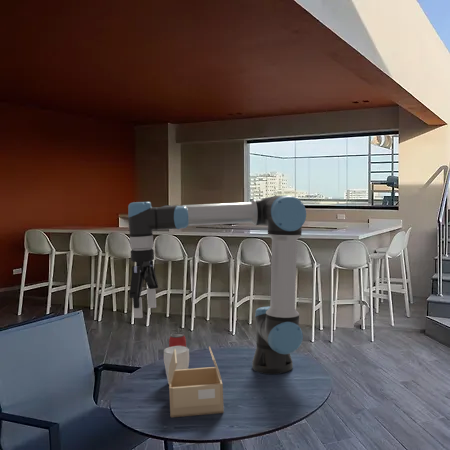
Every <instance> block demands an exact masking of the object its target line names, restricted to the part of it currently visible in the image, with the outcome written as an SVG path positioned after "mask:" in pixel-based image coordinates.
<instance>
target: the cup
mask: <svg viewBox="0 0 450 450" xmlns="http://www.w3.org/2000/svg"><path fill="white" fill-rule="evenodd" d="M174 349H176V357H177V365H176V369H175V370H180V369H189V365H190V364H189V363H190V351H189V347H187V346H186V347H185V346H172V347H169V346H168V347H166V348H164V349H163V362H164V368H165V374H166V379H167V384H168V385H169V366H170V362H171V359H172V355H173V352H174Z"/></svg>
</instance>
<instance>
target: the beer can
mask: <svg viewBox="0 0 450 450" xmlns="http://www.w3.org/2000/svg"><path fill="white" fill-rule="evenodd" d="M172 346H185V347H187V339H186V336H185V333H183V332H173V333H171V334H169V339H168V347H172Z"/></svg>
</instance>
